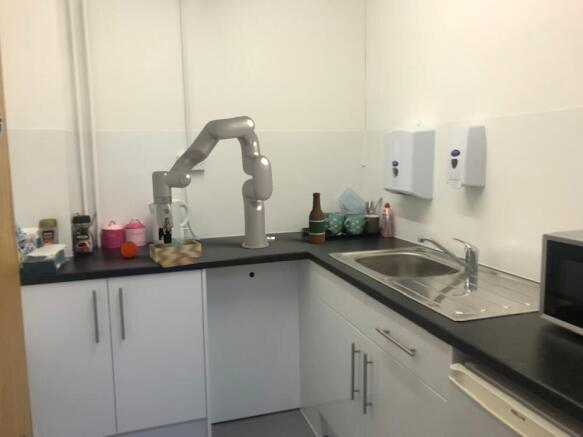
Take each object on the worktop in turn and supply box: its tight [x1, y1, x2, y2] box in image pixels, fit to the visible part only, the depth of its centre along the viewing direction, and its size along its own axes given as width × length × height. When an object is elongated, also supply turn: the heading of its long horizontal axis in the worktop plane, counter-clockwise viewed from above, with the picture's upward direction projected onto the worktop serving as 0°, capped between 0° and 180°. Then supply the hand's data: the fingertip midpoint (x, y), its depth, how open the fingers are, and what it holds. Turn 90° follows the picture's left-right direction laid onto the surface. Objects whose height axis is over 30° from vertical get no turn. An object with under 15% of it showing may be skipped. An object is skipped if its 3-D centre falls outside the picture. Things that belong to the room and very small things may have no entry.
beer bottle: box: [308, 192, 326, 245], centre depth 224 cm, size 8×8×24 cm
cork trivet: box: [157, 257, 199, 268], centre depth 189 cm, size 14×9×1 cm, turn 119°
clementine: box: [120, 241, 139, 259], centre depth 200 cm, size 8×7×7 cm
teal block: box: [161, 236, 183, 247], centre depth 199 cm, size 12×4×3 cm
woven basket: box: [148, 239, 203, 263], centre depth 200 cm, size 19×12×6 cm, turn 119°
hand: (165, 241), depth 197 cm, fingers open, 8 cm apart
